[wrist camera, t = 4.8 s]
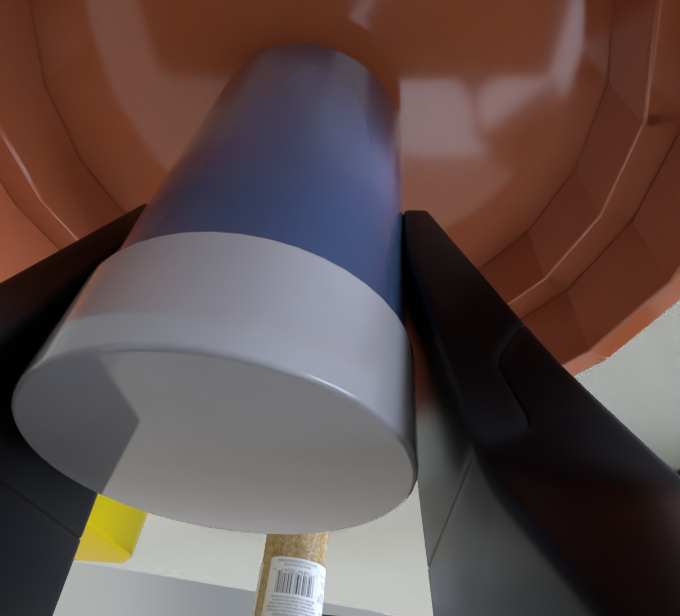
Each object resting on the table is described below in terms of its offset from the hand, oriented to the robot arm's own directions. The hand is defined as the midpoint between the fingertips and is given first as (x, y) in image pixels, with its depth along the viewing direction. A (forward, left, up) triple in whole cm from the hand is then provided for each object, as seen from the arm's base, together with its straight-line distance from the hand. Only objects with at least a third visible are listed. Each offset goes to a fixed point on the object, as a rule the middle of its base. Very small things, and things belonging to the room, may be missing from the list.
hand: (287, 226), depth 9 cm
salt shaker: (0, 0, -3) cm, 3 cm away
